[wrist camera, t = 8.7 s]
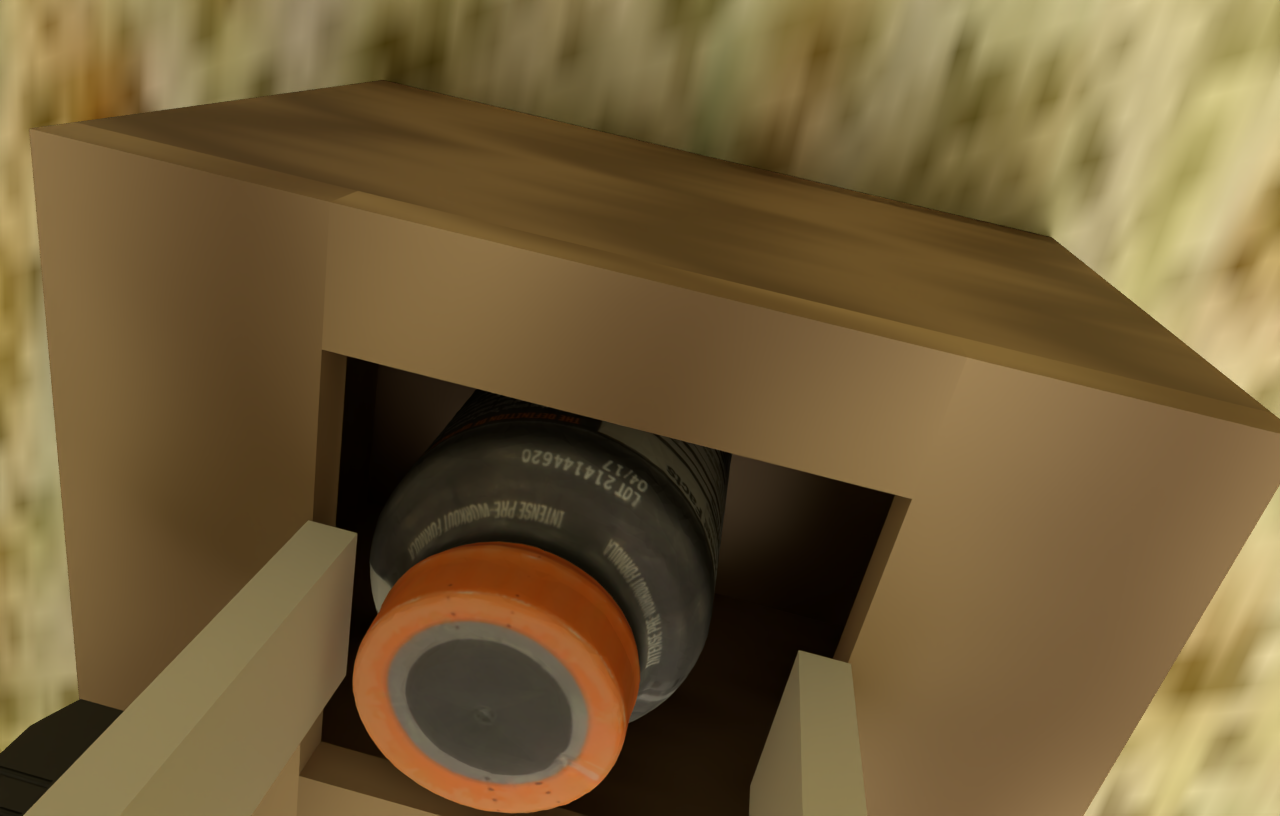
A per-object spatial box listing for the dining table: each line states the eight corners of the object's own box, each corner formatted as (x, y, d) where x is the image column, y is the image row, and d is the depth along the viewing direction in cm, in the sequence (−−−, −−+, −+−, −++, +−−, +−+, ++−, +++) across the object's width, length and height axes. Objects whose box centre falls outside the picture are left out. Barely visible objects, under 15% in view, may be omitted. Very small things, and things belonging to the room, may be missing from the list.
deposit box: (351, 504, 26) (87, 795, 16) (382, 79, 21) (29, 128, 11) (885, 644, 25) (948, 1042, 15) (1052, 237, 20) (1306, 440, 10)
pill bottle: (500, 479, 24) (282, 821, 14) (515, 268, 21) (263, 491, 11) (718, 521, 23) (661, 910, 13) (759, 309, 21) (728, 583, 11)
